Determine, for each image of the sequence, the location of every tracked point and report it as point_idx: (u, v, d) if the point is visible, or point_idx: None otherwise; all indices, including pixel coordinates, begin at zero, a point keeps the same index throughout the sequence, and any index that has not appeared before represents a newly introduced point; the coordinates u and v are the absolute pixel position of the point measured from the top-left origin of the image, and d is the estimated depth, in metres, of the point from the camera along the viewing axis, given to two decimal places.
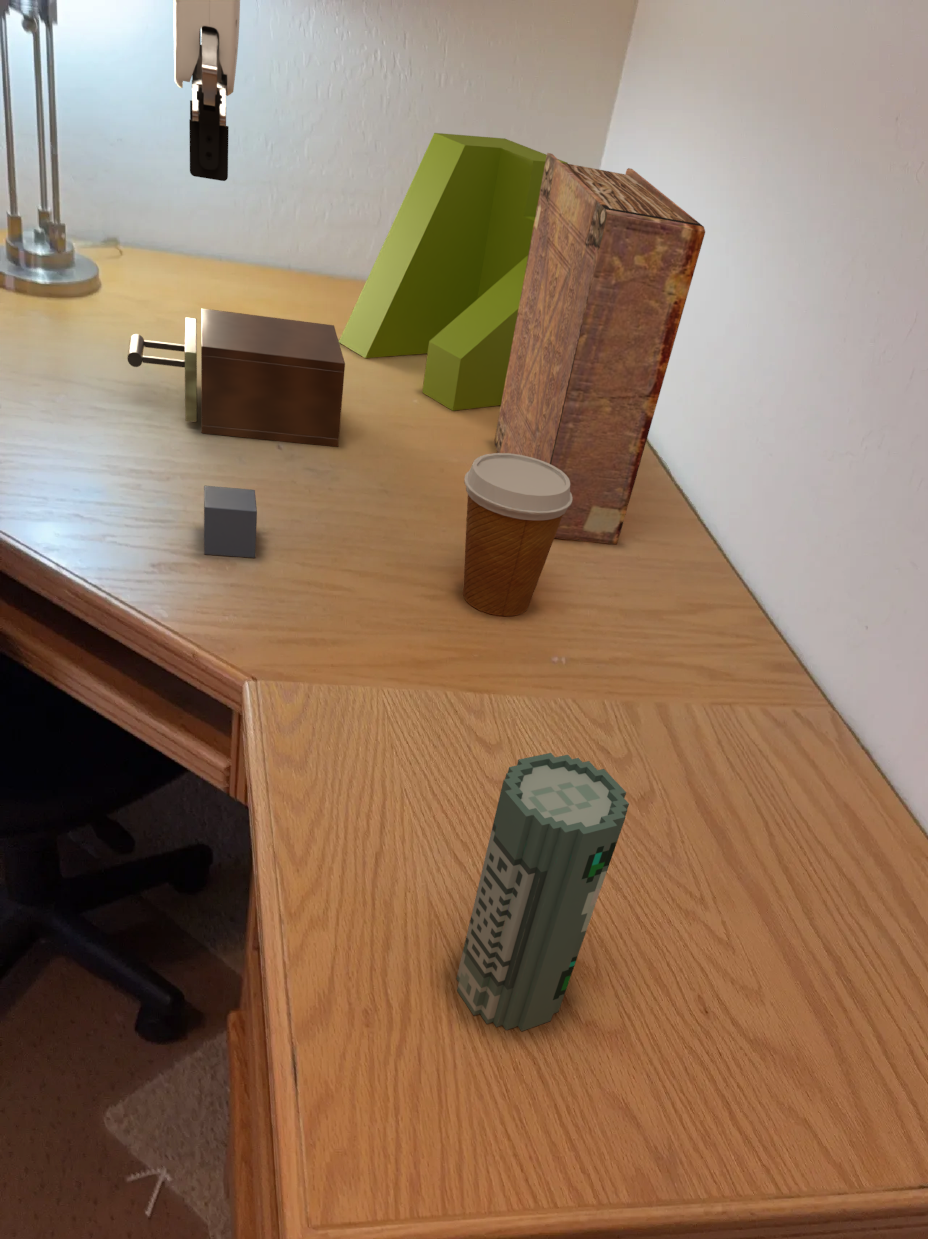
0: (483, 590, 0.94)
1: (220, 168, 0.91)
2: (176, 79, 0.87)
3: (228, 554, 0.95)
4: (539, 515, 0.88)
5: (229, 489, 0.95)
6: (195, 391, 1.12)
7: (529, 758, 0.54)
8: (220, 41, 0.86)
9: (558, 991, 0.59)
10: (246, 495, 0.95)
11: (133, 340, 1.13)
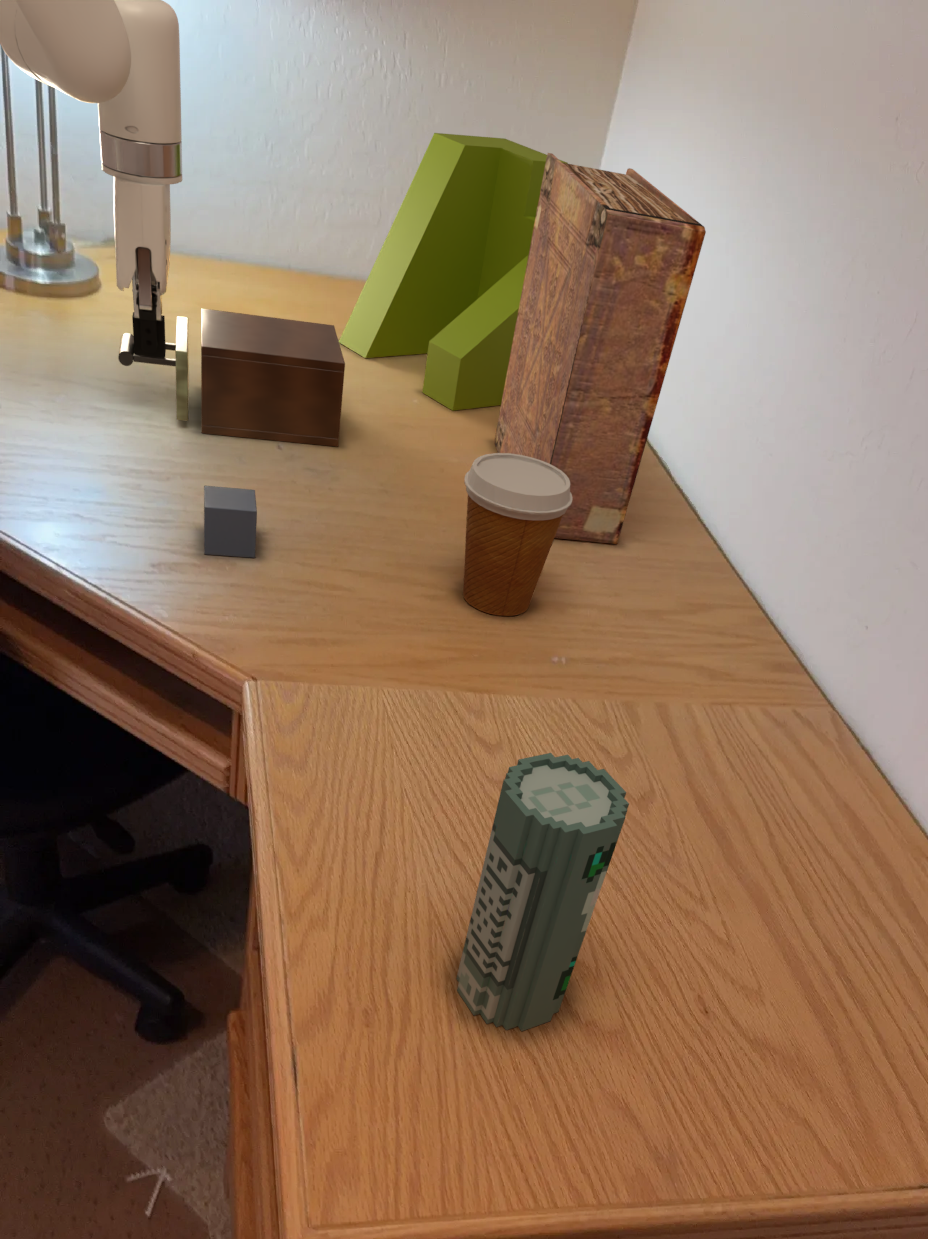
0: (483, 590, 0.94)
1: (159, 350, 1.13)
2: (117, 286, 1.05)
3: (228, 554, 0.95)
4: (539, 515, 0.88)
5: (229, 489, 0.95)
6: (186, 390, 1.12)
7: (529, 758, 0.54)
8: (152, 257, 1.04)
9: (558, 991, 0.59)
10: (246, 495, 0.95)
11: (124, 339, 1.13)
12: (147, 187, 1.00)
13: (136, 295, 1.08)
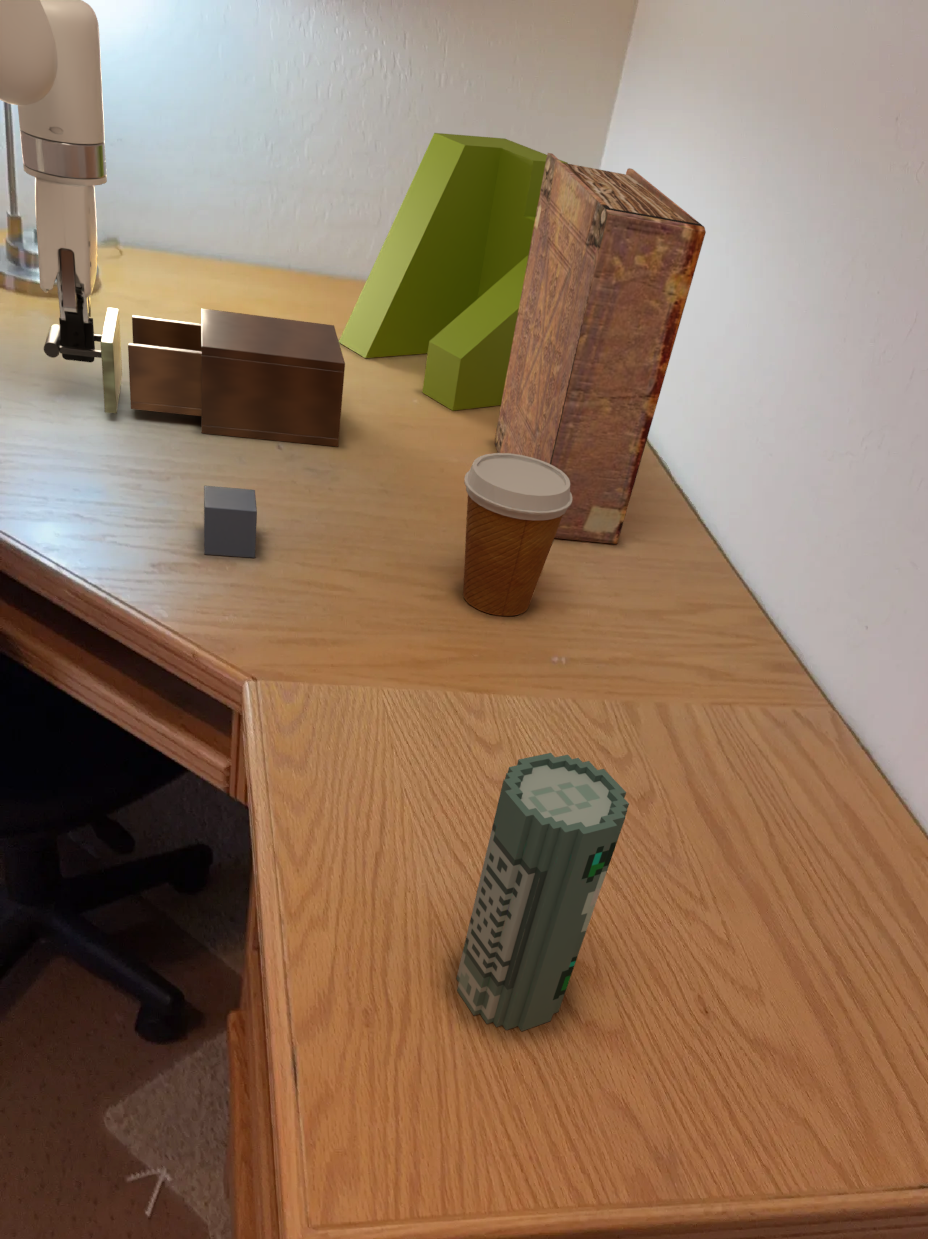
0: (483, 590, 0.94)
1: None
2: (41, 287, 1.04)
3: (228, 554, 0.95)
4: (539, 515, 0.88)
5: (229, 489, 0.95)
6: (113, 382, 1.10)
7: (529, 758, 0.54)
8: (75, 259, 1.02)
9: (558, 991, 0.59)
10: (246, 495, 0.95)
11: (51, 330, 1.11)
12: (68, 188, 0.99)
13: (62, 297, 1.07)
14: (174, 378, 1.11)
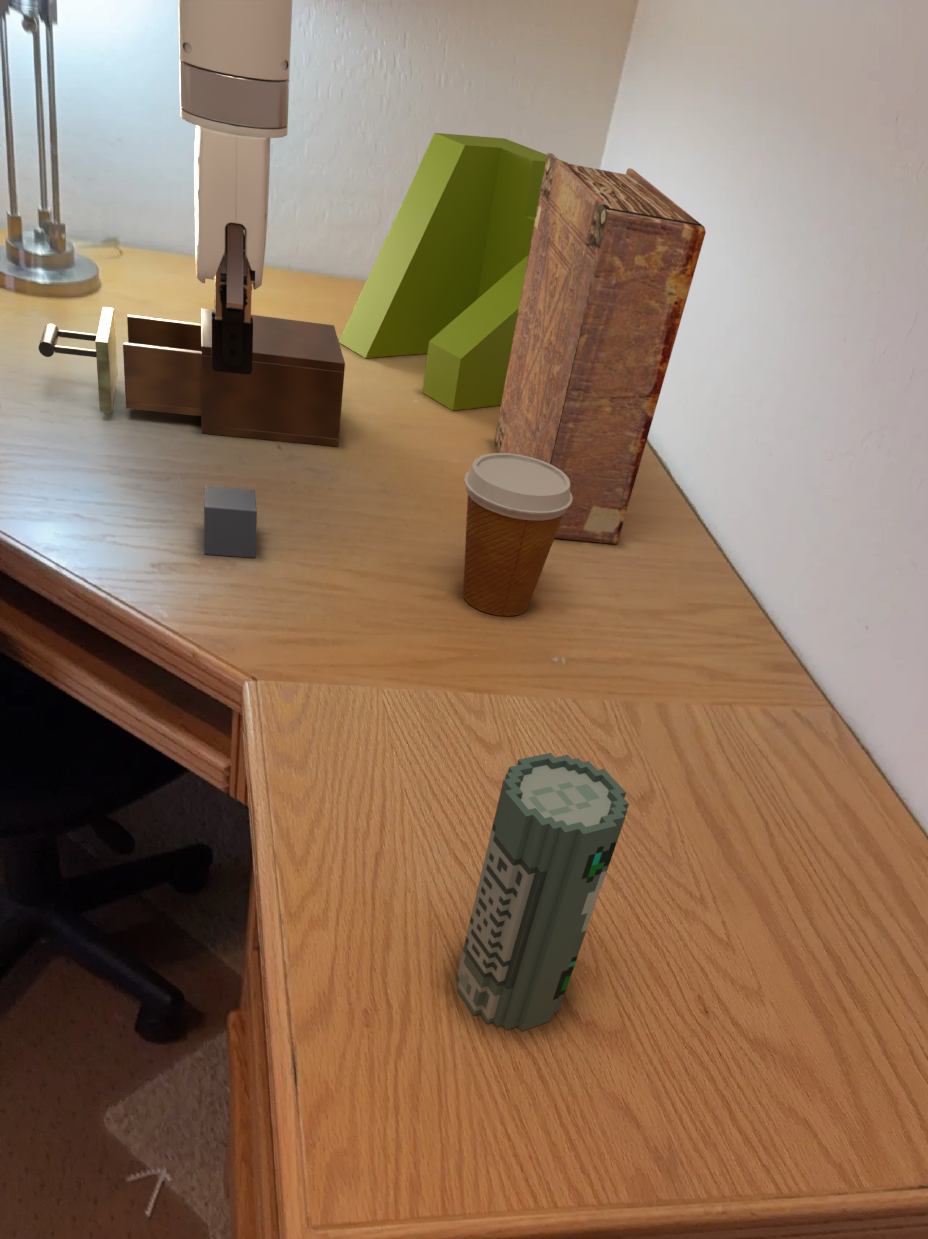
0: (483, 590, 0.94)
1: (244, 362, 0.86)
2: (198, 276, 0.78)
3: (228, 554, 0.95)
4: (539, 515, 0.88)
5: (229, 489, 0.95)
6: (108, 382, 1.10)
7: (529, 758, 0.54)
8: (248, 237, 0.77)
9: (558, 991, 0.59)
10: (246, 495, 0.95)
11: (46, 330, 1.11)
12: (245, 140, 0.73)
13: (220, 289, 0.81)
14: (169, 378, 1.11)
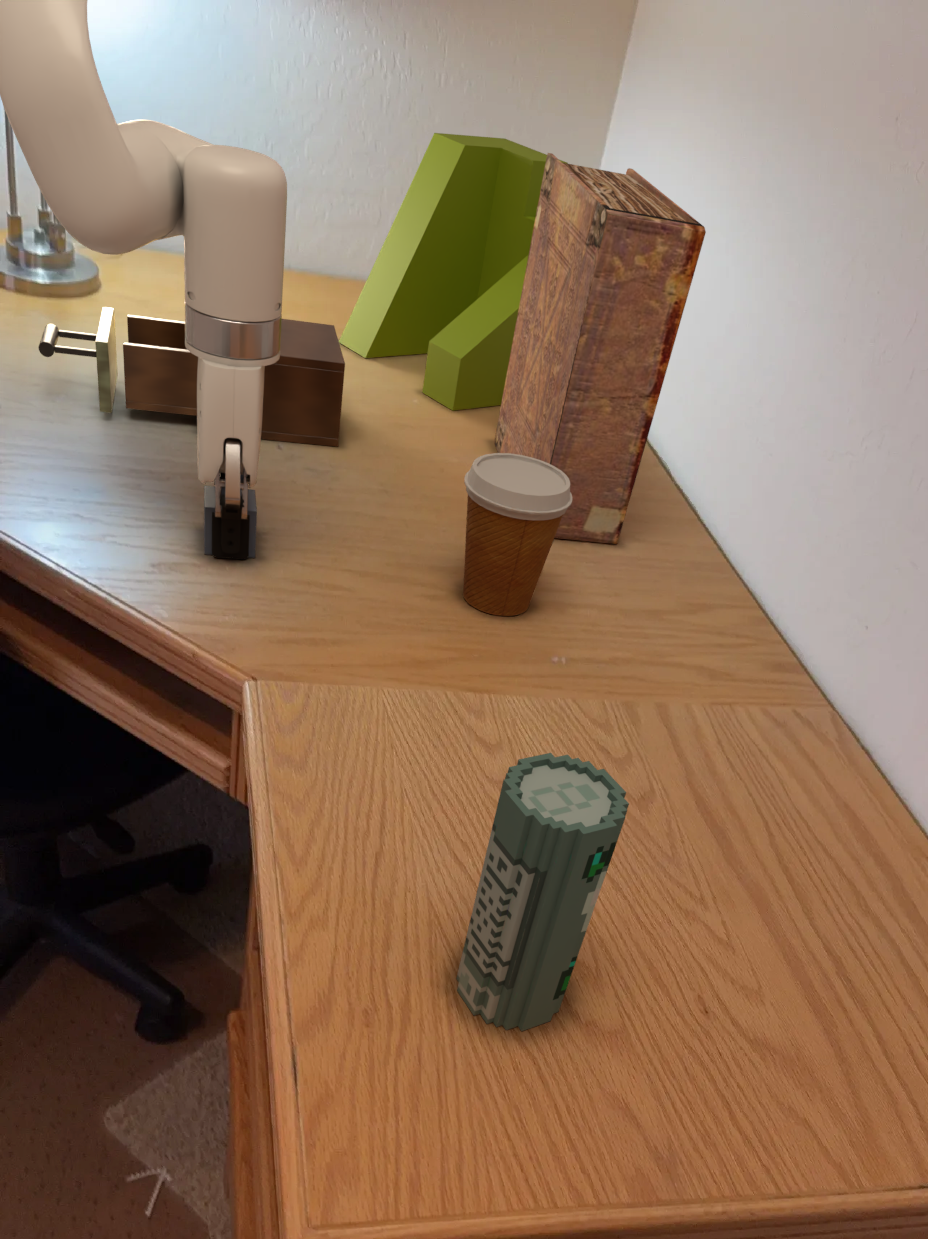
0: (483, 590, 0.94)
1: (241, 550, 0.94)
2: (199, 479, 0.88)
3: None
4: (539, 515, 0.88)
5: None
6: (108, 382, 1.10)
7: (529, 758, 0.54)
8: (243, 449, 0.86)
9: (558, 991, 0.59)
10: None
11: (46, 330, 1.11)
12: (242, 372, 0.83)
13: (219, 488, 0.90)
14: (169, 378, 1.11)
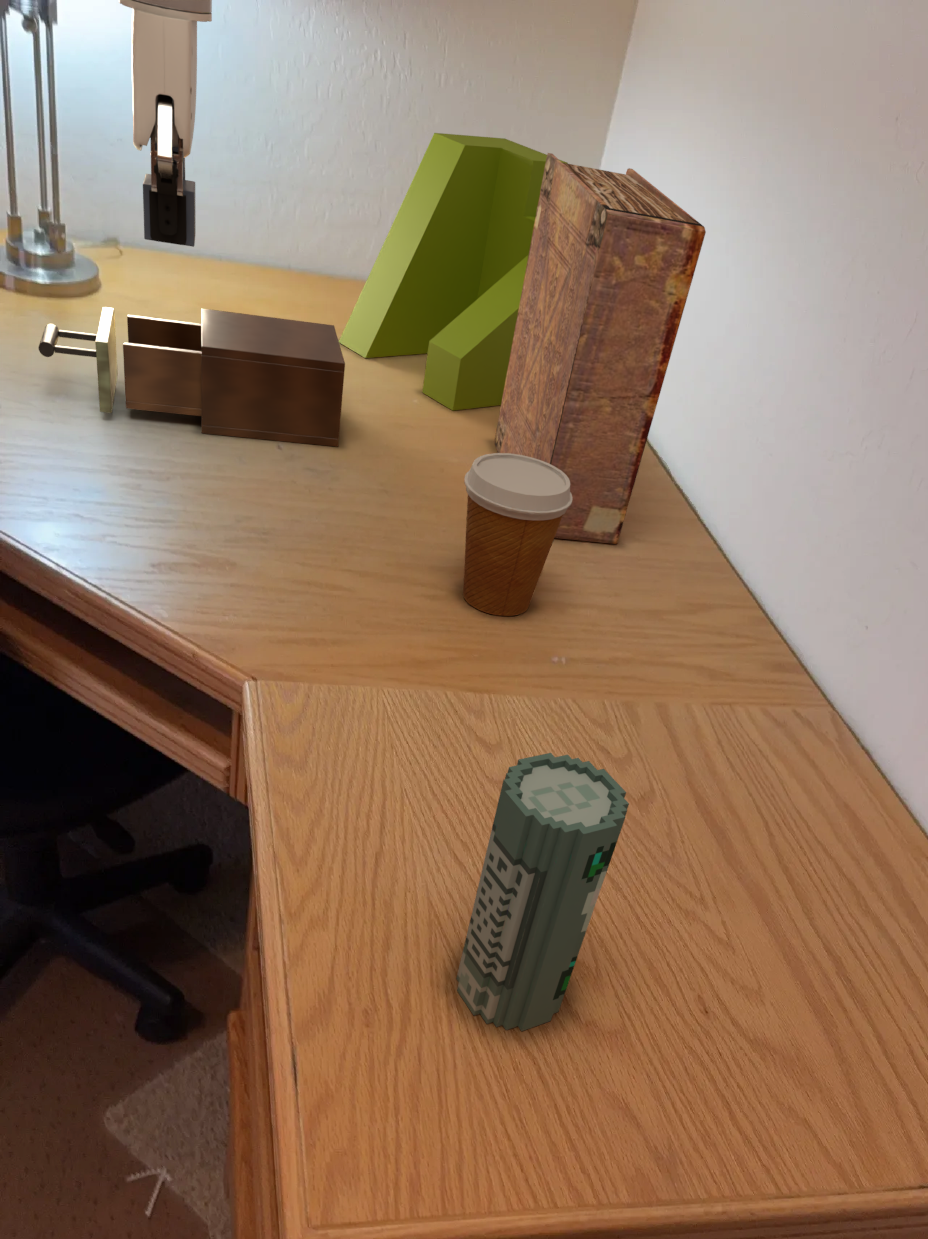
0: (483, 590, 0.94)
1: (179, 233, 0.98)
2: (134, 143, 0.91)
3: None
4: (539, 515, 0.88)
5: None
6: (108, 382, 1.10)
7: (529, 758, 0.54)
8: (175, 108, 0.90)
9: (558, 991, 0.59)
10: (185, 182, 0.98)
11: (46, 330, 1.11)
12: (171, 21, 0.86)
13: (154, 158, 0.93)
14: (169, 378, 1.11)
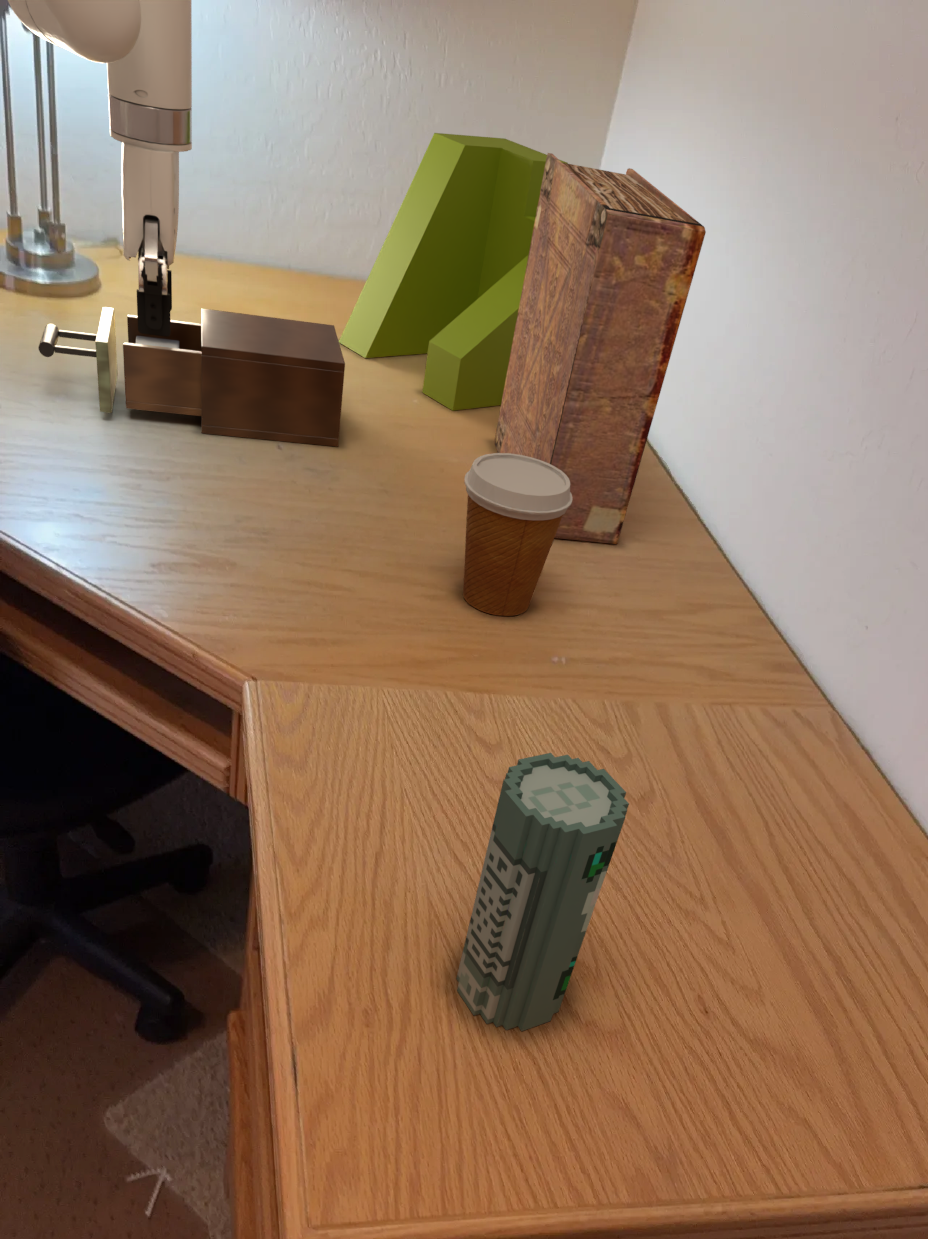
0: (483, 590, 0.94)
1: (163, 327, 1.08)
2: (124, 255, 1.03)
3: None
4: (539, 515, 0.88)
5: (157, 339, 1.15)
6: (108, 382, 1.10)
7: (529, 758, 0.54)
8: (160, 226, 1.02)
9: (558, 991, 0.59)
10: (171, 343, 1.14)
11: (46, 330, 1.11)
12: (156, 153, 0.98)
13: (142, 262, 1.04)
14: (169, 378, 1.11)
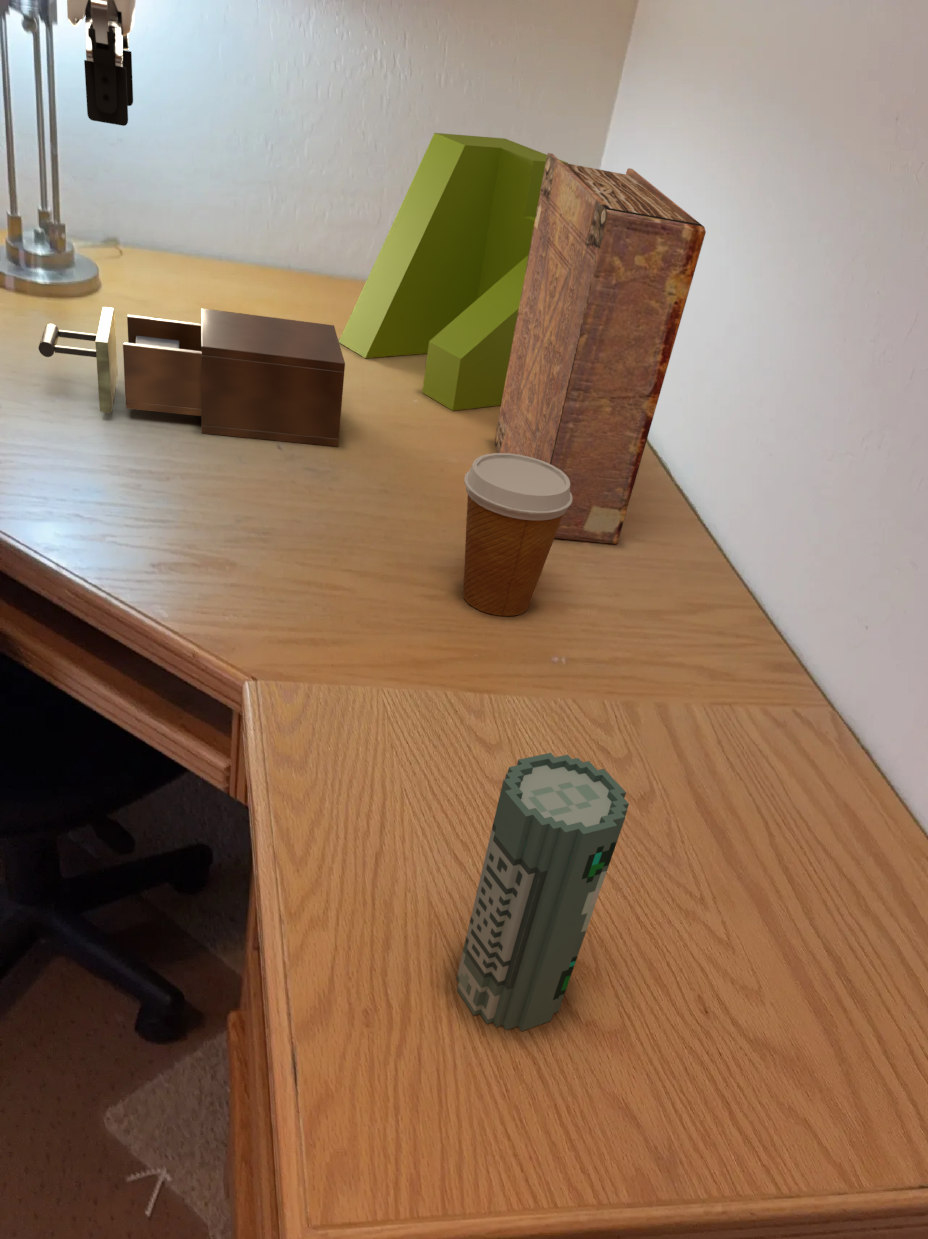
0: (483, 590, 0.94)
1: (119, 112, 0.88)
2: (68, 17, 0.84)
3: None
4: (539, 515, 0.88)
5: (157, 339, 1.15)
6: (108, 382, 1.10)
7: (529, 758, 0.54)
8: None
9: (558, 991, 0.59)
10: (171, 343, 1.14)
11: (46, 330, 1.11)
12: None
13: (90, 22, 0.84)
14: (169, 378, 1.11)
